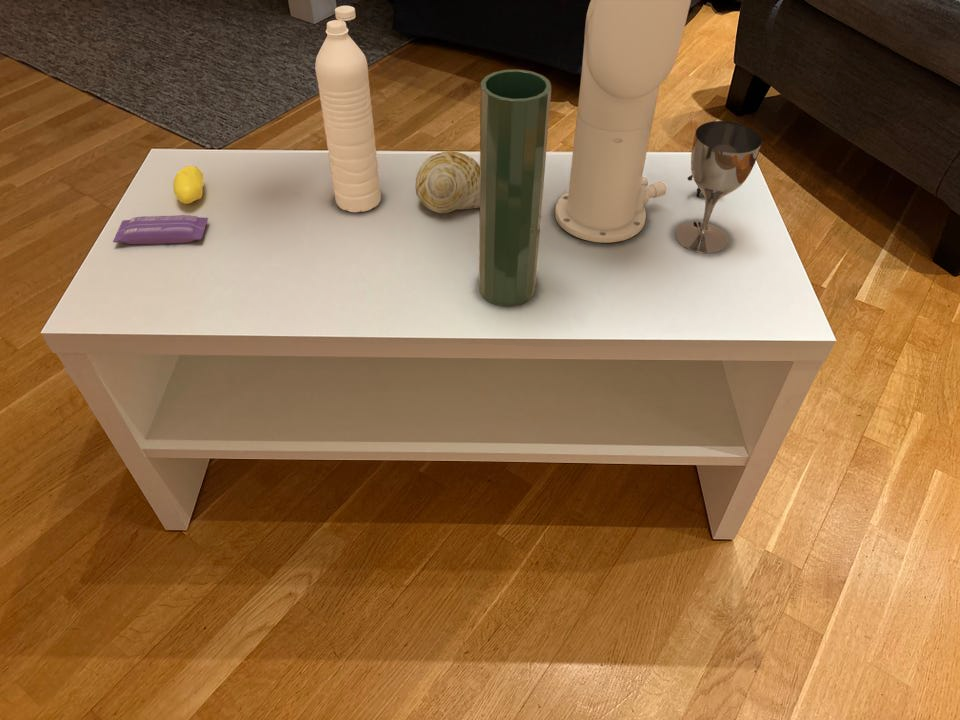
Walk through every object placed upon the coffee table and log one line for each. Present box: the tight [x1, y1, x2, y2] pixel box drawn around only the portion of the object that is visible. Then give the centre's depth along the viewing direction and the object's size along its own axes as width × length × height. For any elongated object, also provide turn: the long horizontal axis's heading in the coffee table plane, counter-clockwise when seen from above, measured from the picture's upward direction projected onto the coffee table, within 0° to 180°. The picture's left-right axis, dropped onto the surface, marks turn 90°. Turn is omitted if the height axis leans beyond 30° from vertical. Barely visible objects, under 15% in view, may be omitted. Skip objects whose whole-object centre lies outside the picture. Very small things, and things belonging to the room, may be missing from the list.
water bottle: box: [314, 5, 382, 213], centre depth 98 cm, size 9×6×25 cm
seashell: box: [415, 150, 480, 214], centre depth 104 cm, size 10×10×10 cm
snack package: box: [112, 214, 209, 245], centre depth 99 cm, size 12×2×5 cm
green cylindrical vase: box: [478, 69, 552, 307], centre depth 83 cm, size 7×7×26 cm
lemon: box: [172, 165, 205, 205], centre depth 105 cm, size 4×8×4 cm, turn 5°
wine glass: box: [674, 120, 763, 254], centre depth 95 cm, size 8×8×15 cm
